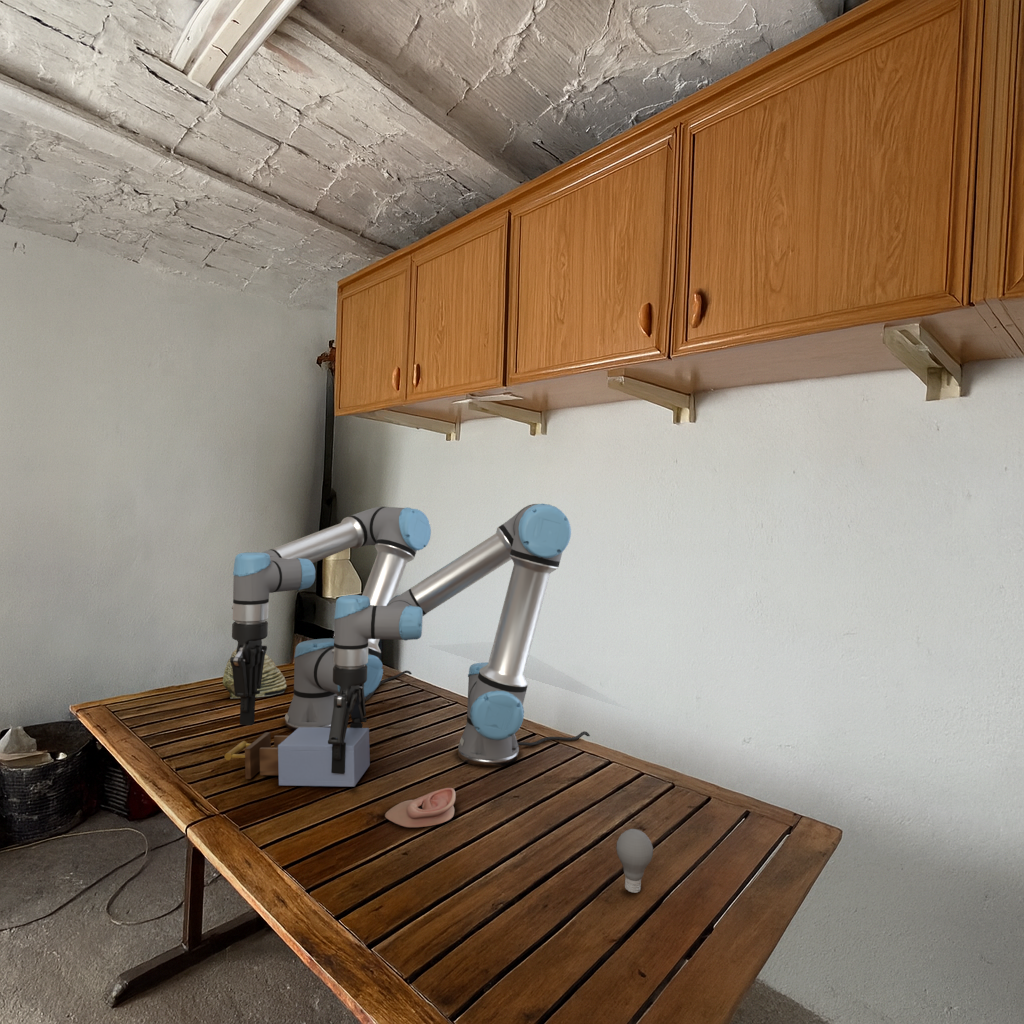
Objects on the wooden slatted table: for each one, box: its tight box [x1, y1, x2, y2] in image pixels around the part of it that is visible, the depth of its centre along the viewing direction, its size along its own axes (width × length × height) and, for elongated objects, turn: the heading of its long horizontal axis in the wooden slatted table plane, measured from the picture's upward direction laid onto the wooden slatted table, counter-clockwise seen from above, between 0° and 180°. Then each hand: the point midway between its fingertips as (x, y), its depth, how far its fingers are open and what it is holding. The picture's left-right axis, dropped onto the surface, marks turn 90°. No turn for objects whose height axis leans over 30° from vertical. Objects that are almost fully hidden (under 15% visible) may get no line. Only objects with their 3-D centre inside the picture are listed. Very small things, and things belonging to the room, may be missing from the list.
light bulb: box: [615, 828, 654, 894], centre depth 106 cm, size 6×6×10 cm
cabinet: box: [278, 727, 371, 788], centre depth 143 cm, size 17×11×9 cm, turn 86°
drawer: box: [224, 731, 289, 780], centre depth 144 cm, size 21×10×7 cm, turn 86°
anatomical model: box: [384, 787, 457, 828], centre depth 128 cm, size 13×4×12 cm
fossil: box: [222, 648, 288, 699], centre depth 198 cm, size 9×18×15 cm, turn 132°
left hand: (247, 723), depth 144 cm, fingers closed
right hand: (347, 761), depth 143 cm, fingers closed on cabinet, 11 cm apart
